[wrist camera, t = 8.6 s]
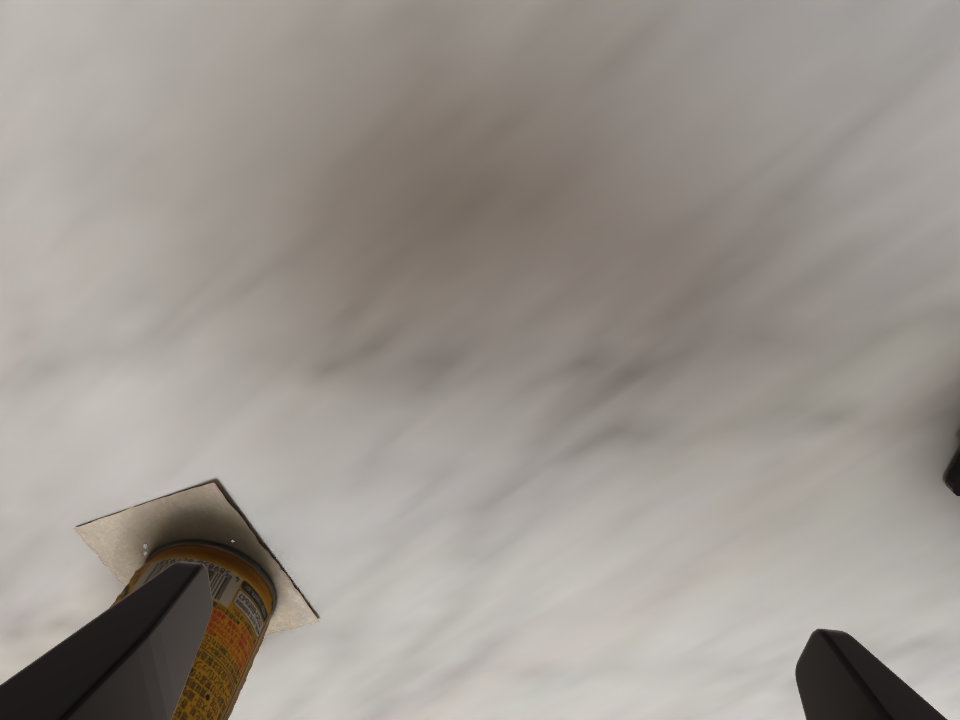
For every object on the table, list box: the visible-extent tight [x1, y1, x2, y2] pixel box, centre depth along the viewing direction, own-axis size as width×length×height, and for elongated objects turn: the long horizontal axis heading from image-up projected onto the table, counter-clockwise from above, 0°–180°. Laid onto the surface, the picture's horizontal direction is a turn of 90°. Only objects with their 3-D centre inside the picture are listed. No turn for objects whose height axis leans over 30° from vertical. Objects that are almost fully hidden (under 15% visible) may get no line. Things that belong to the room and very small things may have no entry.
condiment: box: [74, 483, 319, 720], centre depth 21 cm, size 7×8×12 cm
